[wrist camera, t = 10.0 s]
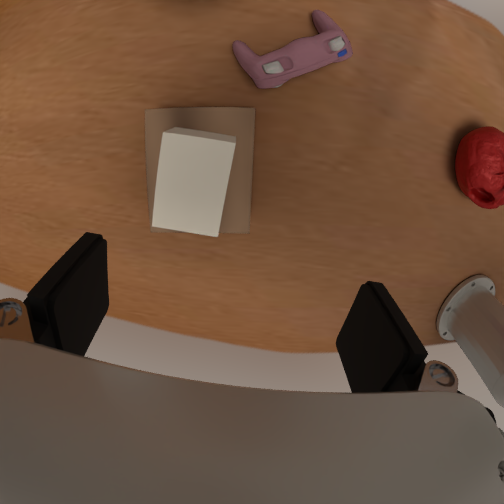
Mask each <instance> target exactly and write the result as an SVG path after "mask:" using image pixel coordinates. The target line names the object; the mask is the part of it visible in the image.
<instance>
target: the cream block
mask: <svg viewBox="0 0 504 504" xmlns="http://www.w3.org/2000/svg"><path fill="white" fill-rule="evenodd" d="M235 145H236V137H235V136H230V135H224V134H218V133H212V132H206V131H200V130H193V129H186V128H178V127H174V128H172V129H169V130H167V131H165V132H163V135H162V142H161V148H160V156H159V163H158V171H157V179H156V188H155V198H154V208H153V219H152V227H159V228H165V229H171V230H177V231H183V232H189V233H195V234H201V235H208V236H214V237H218V233H219V228H220V222H221V217H222V211H223V206H224V201H225V196H226V190H227V185H228V180H229V175H230V170H231V165H232V160H233V155H234V150H235Z"/></svg>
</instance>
